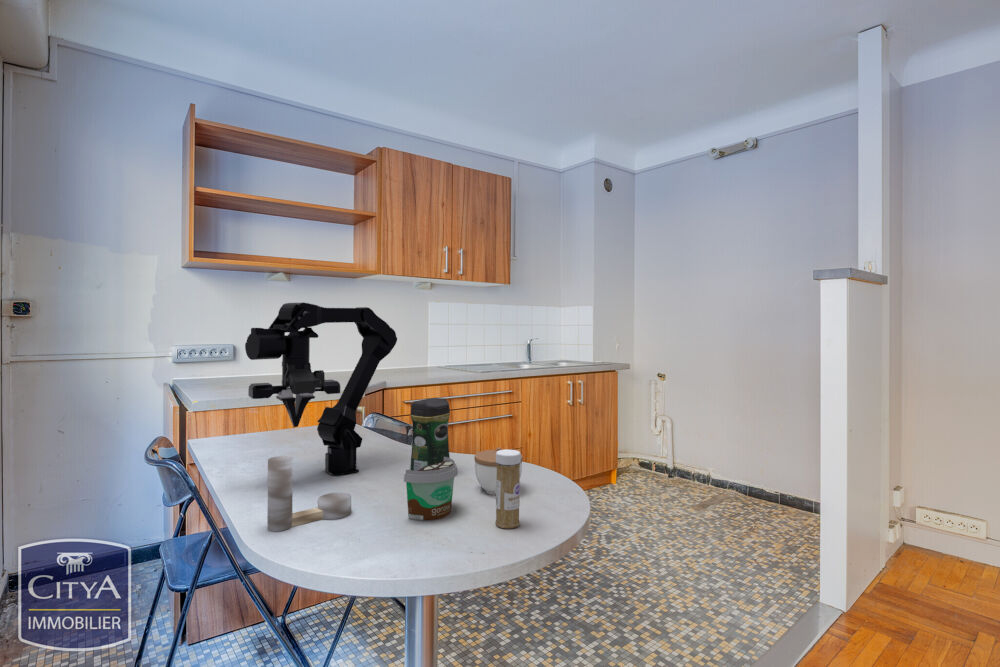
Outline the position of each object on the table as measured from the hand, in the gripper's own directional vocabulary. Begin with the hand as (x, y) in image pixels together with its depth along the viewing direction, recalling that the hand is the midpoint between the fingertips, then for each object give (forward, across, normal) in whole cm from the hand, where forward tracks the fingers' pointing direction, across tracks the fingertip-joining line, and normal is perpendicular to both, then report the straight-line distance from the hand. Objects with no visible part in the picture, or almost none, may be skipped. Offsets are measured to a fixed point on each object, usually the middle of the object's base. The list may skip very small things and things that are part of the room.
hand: (295, 426), depth 116 cm
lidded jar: (+13, +36, -29) cm, 48 cm away
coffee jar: (+13, +29, -10) cm, 33 cm away
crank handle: (+12, -3, -26) cm, 29 cm away
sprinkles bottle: (+13, +26, -46) cm, 54 cm away
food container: (+13, +17, -36) cm, 42 cm away
